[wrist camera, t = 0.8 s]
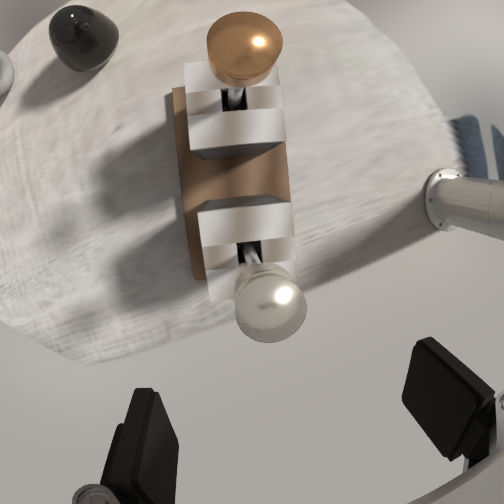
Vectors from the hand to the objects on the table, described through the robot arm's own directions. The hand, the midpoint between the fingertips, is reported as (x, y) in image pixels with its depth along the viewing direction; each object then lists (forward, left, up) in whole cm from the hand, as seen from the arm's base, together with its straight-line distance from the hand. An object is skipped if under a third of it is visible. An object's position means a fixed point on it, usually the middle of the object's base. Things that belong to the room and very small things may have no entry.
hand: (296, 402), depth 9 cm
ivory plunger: (0, 0, -28) cm, 28 cm away
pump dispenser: (+21, -34, -38) cm, 55 cm away
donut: (+42, -36, -38) cm, 67 cm away
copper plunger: (0, -15, -28) cm, 31 cm away
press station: (0, -8, -38) cm, 39 cm away
